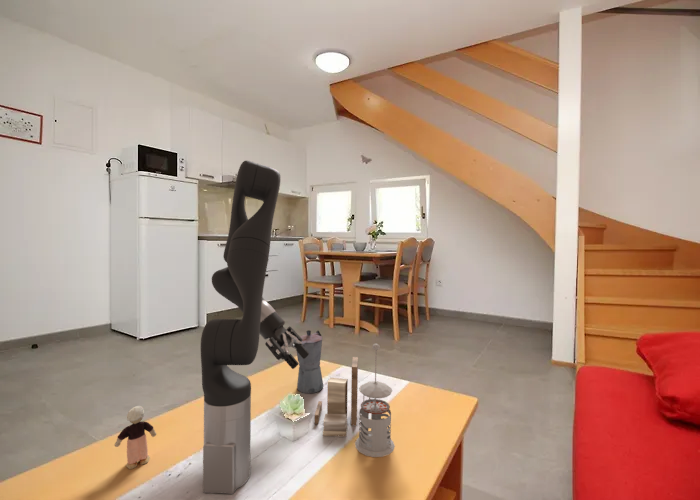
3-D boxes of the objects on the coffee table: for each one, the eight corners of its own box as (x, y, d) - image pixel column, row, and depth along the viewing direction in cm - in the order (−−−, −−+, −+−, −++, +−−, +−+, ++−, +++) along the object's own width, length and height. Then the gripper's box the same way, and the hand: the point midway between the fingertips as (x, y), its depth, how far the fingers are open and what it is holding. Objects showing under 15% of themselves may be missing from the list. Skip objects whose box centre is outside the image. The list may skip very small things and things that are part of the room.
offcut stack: (346, 436, 86) (346, 422, 86) (322, 435, 86) (323, 421, 86) (347, 427, 90) (347, 414, 90) (324, 426, 91) (325, 413, 91)
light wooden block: (344, 423, 92) (345, 383, 92) (327, 420, 94) (327, 381, 93) (347, 417, 95) (347, 379, 95) (330, 415, 96) (330, 377, 96)
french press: (361, 460, 77) (363, 351, 76) (348, 432, 88) (349, 337, 87) (401, 453, 79) (403, 348, 79) (383, 427, 91) (384, 335, 90)
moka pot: (286, 395, 109) (287, 333, 109) (306, 377, 124) (307, 323, 123) (314, 399, 106) (314, 336, 106) (330, 380, 121) (331, 325, 121)
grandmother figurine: (151, 452, 79) (151, 398, 78) (157, 458, 76) (157, 403, 76) (112, 468, 73) (112, 411, 72) (118, 476, 70) (118, 416, 70)
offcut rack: (356, 425, 91) (357, 367, 91) (314, 424, 92) (315, 365, 91) (357, 410, 99) (357, 357, 99) (318, 409, 100) (319, 356, 99)
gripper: (262, 315, 91) (301, 361, 89) (283, 306, 105) (318, 345, 103) (244, 333, 92) (282, 379, 90) (267, 322, 106) (301, 361, 104)
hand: (301, 361), depth 97 cm, fingers open, 8 cm apart
